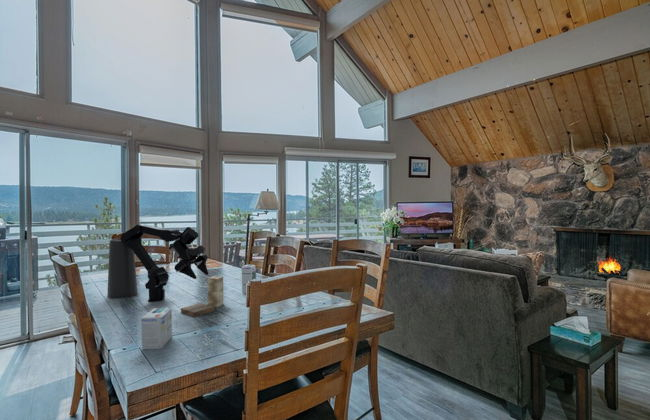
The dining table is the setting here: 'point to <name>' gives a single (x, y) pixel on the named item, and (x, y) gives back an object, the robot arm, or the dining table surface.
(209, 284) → the maple block
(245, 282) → the syrup box
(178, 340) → the dining table surface
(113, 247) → the vase
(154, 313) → the light bulb box
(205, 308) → the walnut block
